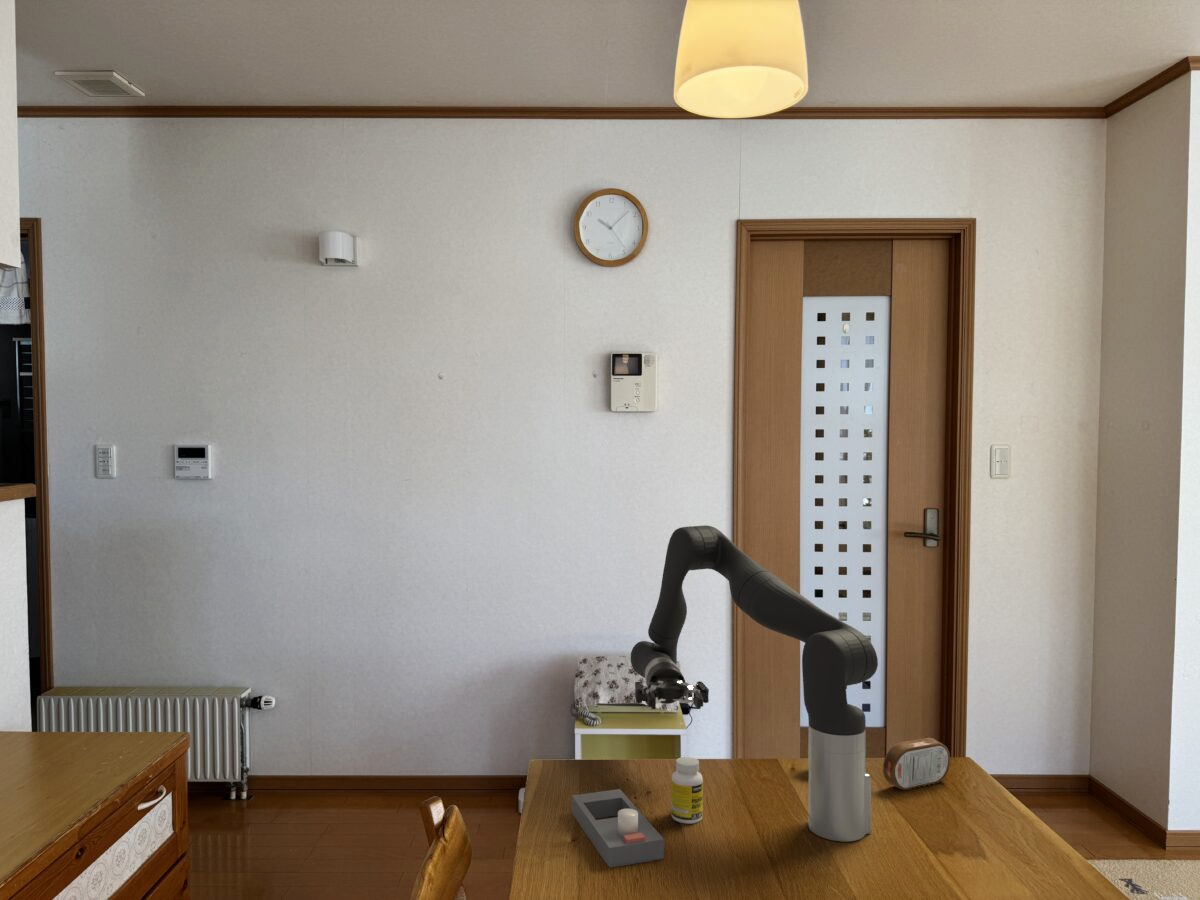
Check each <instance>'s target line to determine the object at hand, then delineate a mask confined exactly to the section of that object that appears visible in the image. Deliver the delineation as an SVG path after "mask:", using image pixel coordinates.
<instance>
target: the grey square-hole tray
mask: <svg viewBox="0 0 1200 900" xmlns="http://www.w3.org/2000/svg"><path fill="white" fill-rule="evenodd" d="M571 814H572V815H573V817H574V819H575V820H576V821H577V823H578V824H579V826H580V827H581V829H582V828H583V829H582V830H583V832H584V833H585V834H586V836H587V837H588V839H589V841H590V842H591V843H592V844H593V846H594V848H595V849H596V851H597V852H598V853H599V856H600V857H601V858H602V859H603V861H604V862H605V864H606V863H607V864H606V865H607V867H608V866H609V867H608V868H609V869H611V868H616V867H622V866H623V867H624V866H628V865H633V864H640V863H641V864H642V863H647V862H653V861H658V860H659V861H660V860H665V839H664V838H663V837H662V835H661V834H660V833H659V832H658V830H656V828H655V827H654V826H653V825H652V823H650V822H649V820H648V819H647V818H646V816H644V814H642V812H641V811H640V810H639V809H638V808H637V807H636V805H635V804H634V803H633V802H632V801H631V800H630V799H629V797H627V795H626V794H625V793H624V792H623V791H622V790H621V789H620V788H618V789H611V790H610V789H609V790H602V791H597V792H596V791H595V792H594V791H593V792H587V793H580V794H573V795H571ZM609 816H610V817H609Z"/></svg>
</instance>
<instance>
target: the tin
mask: <svg viewBox="0 0 1200 900" xmlns="http://www.w3.org/2000/svg"><path fill="white" fill-rule="evenodd" d="M950 763H951V754H950V751H949V748H948V747H947V746H946V745H945V744H943V743H942V742H941V741H938V740H937V739H935V738H932V737H926V738H920V739H915V740H913V739H912V740H908V741H901V742H898V743H896V744H894V745H893V746H892V747H891V748H890V749H889V750H888V751H887V752H886V755H885V756H884V760H883V764H882V766H883V767H882V772H883V776H884V779H885V780H886V781H887V783H888V784H890V785H892V786H894V787H896V788H898V789H899V790H904V791H907V790H913V789H917V788H916V787H918V788H921V787H920V786H923V787H927V786H926V785H928V786H931V785H930V784H933V785H936V784H935V783H937V784H938V783H940V782H942V780H944V779H945V777H946V776H947V774H948V772H949V770H950ZM912 788H913V789H912Z"/></svg>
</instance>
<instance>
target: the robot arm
mask: <svg viewBox="0 0 1200 900" xmlns="http://www.w3.org/2000/svg"><path fill="white" fill-rule="evenodd" d="M697 570H698V571H701V570H713V571H714V572H716V573H719V574H720V575H721V576H722V577H723V578H724V579H726V580H727V581H728V584H729V590H730V594H731V597H732V601H734V604H735V605H736V607H737V608H739V609H740V611H742V612H743V613H745V614H746V615H747V616H748V617H750V619H752V620H753V621H755V623H758V625H760V626H762V627H764V628H767V629H768V630H771V631H774V632H776V633H779V634H780V635H781V634H782V635H785V636H787V637H790V638H792V639H795V640H798V641H801V643H802V642H803V643H804V645H803V650H802V656H801V669H802V670H801V671H802V688H803V689H802V690H803V691H802V692H803V702H804V703H803V704H804V706H805V710H806V713H807V717H808V719H807V720H808V743H809V759H808V815H807V816H808V828H809V830H810V831H811V832H812V833H813V834H815V835H817V836H818V837H821V838H823V839H827V840H830V841H834V842H855V841H858V840H861V839H863V838H864V837H865V836H866V834H867V835H868V834H871V833H872V831H871V830H872V820H871V819H872V815H871V814H872V804H871V803H872V802H871V799H872V797H871V796H872V790H871V789H872V787H871V786H872V782H871V781H872V780H871V779H872V778H871V775H870V774H869V773H868V772H866V771H867V770H866V768H867V767H866V766H867V765H866V760H867V758H866V756H867V755H866V750H867V749H866V727H867V726H866V722H867V721H866V714H865V712H864V711H863V710H862V708H860V707H857V706H856V705H853V704H849V703H848V697H847V687H848V686H849V687H850V686H853V685H858V684H860V683H863V682H866V681H868V680H869V679H871V678H872V677H873V676H874V675H875V674H876V672H877V669H878V665H879V662H878V659H879V658H878V654H877V651H876V649H875V646H873V644H872V642H871V641H870V640H869V638H868V637H867V636H866V635H864V634H863V633H862V632H861V631H859V630H858V629H856V628H855V627H853V626H852V625H849V624H847V623H846V622H845V621H842V620H841V619H839V618H837V617H835V616H833V615H832V614H829V613H828V612H826V611H825V610H823V609H822V608H820V607H819V606H817V605H816V604H814V603H813V602H812V601H810V600H809V599H808V598H807V597H805V596H803V595H802V594H800V593H799V592H797V591H796V590H794V589H793V588H792V587H791V586H789V585H788V584H787V583H786V582H785V581H783V580H782V579H781V578H779V577H778V576H776V575H775V574H774V573H773V572H771V571H769V570H768V569H766V568H765V567H763V566H762V565H760V564H759V563H758V562H756V560H754V559H753V558H751V557H750V556H749V555H747V554H746V553H745V552H743V551H742V550H741V549H740V548H739V547H738V546H737V545H736V544H734V542H732V541H731V540H730V538H729V537H727V536H726V535H725V533H723V532H722V531H721V530H720V529H718V528H717V527H715V526H711V525H706V524H705V525H697V526H696V525H693V526H689V525H688V526H684V527H683V526H682V527H678V528H676V529H675V530H674V531H673V532H672V534H671V536H670V538H669V540H668V543H667V549H666V554H665V560H664V566H663V571H662V578H661V585H660V586H661V587H660V591H659V597H658V600H657V603H656V607H655V610H654V611H653V615H652V618H651V620H650V623H649V626H648V631H647V632H648V633H647V634H648V637H649V638H650V640H651V641H652V642H651V641H647V640H642V641H641V640H640V641H638V642H637V643H635V645H634V646H633V647H632V649H631V652H630V664H631V667H632V670H634V672H635V673H637V674H638V675H639V676H640V677H642V678H644V680H645V684H646V685H644V683H642V682H641V681H635V682H634V699H635V703H636V704H642V703H643V702H645V704H646V706H647V707H648V708H650V709H651V710H656V708H657V707H656V706H657V705H656V704H659V703H660V704H663V705H669V704H675V702H682V703H685V704H690V703H692V704H693V705H694V707H695V708H696V710H700V709H701V708H702V707H704V704H707V703H709V702H710V700H709V693H710V689H709V688H708V687H707V686H706V685H705V683H704V682H703V681H700V680H699V681H696V684H695V685H692V684H690V683H688V682H686V680H685V677H684V674H683V673H682V672H681V670H680V668H679V667H678V666H677V662H678V661H677V660H678V657H677V656H678V654H677V653H678V643H679V638H680V635H681V632H682V630H683V627H684V625H685V623H686V619H687V614H688V610H687V609H688V607H687V602H686V598H685V596H684V591H683V584H684V580H685V577H686V576H687V575H688V573H689V572H690V571H697Z"/></svg>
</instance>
